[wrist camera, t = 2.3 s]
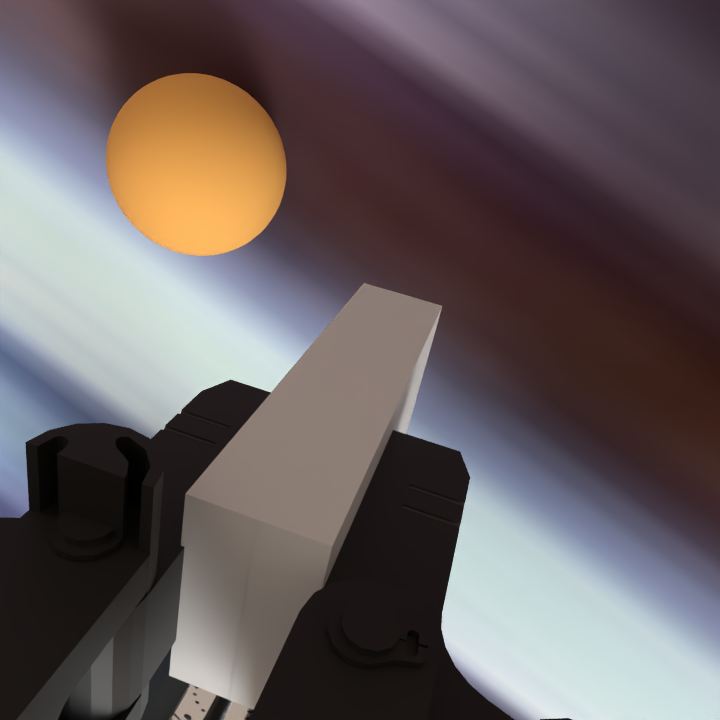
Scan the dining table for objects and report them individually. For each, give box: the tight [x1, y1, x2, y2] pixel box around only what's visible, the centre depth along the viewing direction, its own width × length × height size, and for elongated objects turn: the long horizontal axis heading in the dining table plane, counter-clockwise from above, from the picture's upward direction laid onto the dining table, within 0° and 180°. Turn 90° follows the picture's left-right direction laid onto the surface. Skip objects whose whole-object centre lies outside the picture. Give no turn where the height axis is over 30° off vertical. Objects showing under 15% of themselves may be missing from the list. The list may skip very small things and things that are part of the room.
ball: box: [106, 73, 286, 256], centre depth 22 cm, size 6×6×6 cm
